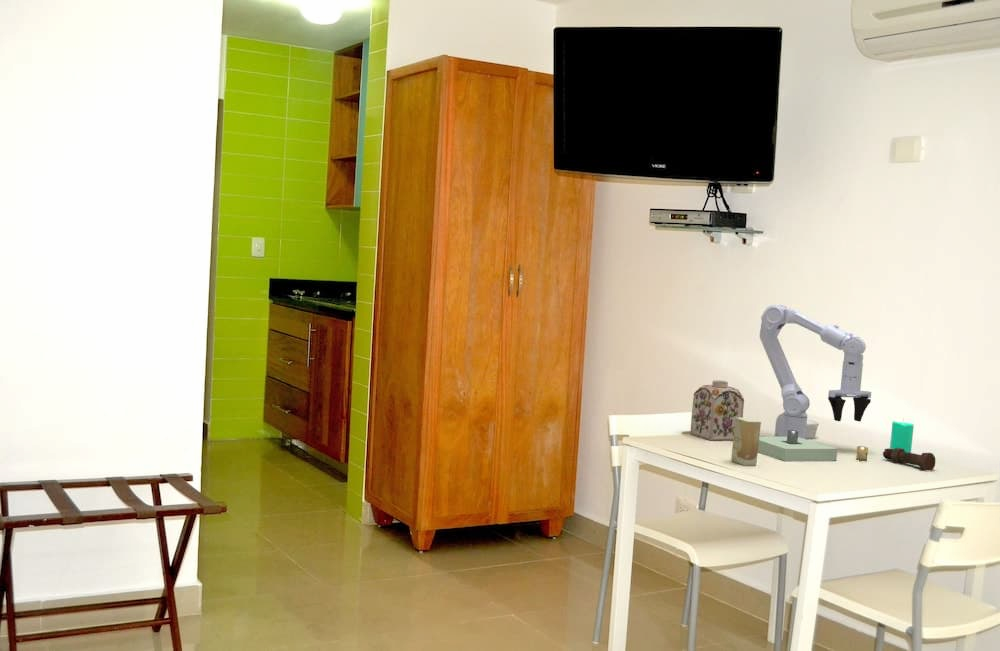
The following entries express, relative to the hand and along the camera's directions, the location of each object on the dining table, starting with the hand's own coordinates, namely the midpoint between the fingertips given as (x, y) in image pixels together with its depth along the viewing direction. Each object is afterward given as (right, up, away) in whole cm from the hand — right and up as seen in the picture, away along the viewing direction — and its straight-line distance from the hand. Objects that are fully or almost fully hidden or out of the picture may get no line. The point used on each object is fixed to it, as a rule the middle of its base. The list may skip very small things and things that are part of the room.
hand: (847, 420), depth 292 cm
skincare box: (-39, -9, -30) cm, 50 cm away
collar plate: (-21, -9, -11) cm, 25 cm away
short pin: (-1, -10, -13) cm, 17 cm away
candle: (+15, -11, -3) cm, 19 cm away
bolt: (+12, -12, -15) cm, 22 cm away
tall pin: (-21, -9, -11) cm, 25 cm away
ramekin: (-7, -8, +24) cm, 26 cm away
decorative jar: (-38, -6, +10) cm, 40 cm away
